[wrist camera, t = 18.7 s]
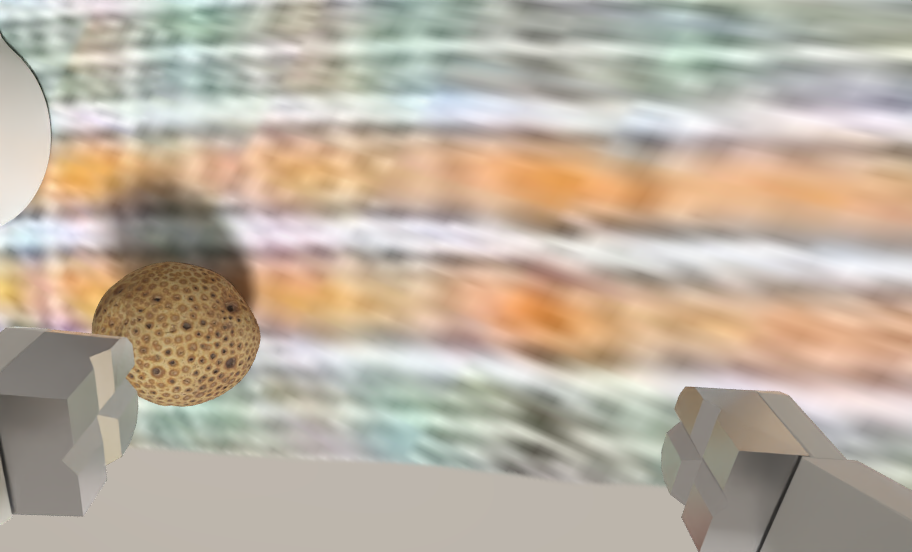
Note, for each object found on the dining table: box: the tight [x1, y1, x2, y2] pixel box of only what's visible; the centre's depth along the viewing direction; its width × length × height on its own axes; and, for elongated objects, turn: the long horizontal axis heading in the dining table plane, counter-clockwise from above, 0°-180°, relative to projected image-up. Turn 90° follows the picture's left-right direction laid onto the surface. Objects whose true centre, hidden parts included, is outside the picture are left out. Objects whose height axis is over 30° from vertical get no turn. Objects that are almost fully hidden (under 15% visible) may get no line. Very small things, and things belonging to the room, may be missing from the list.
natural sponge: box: [92, 262, 260, 407], centre depth 40 cm, size 9×9×10 cm
